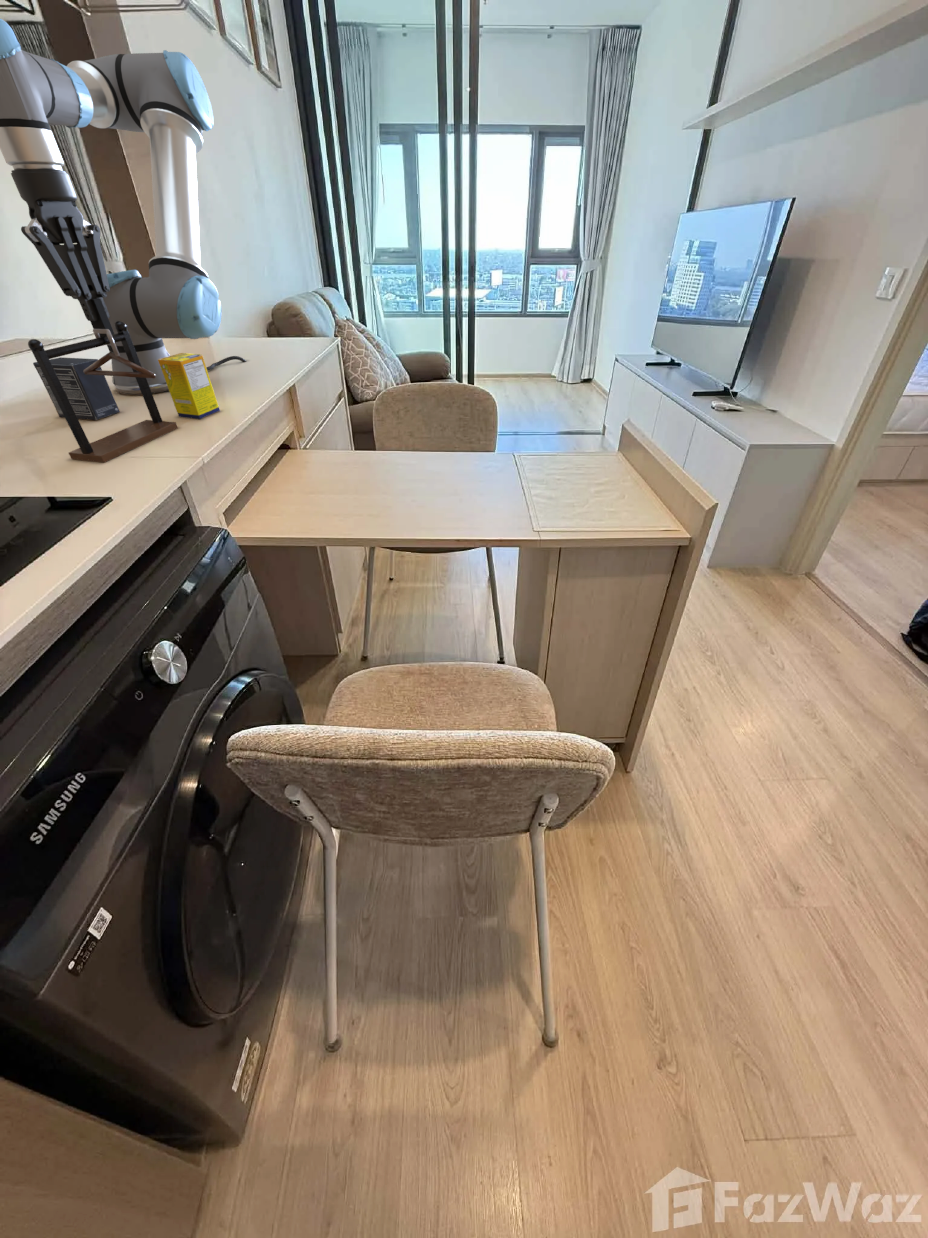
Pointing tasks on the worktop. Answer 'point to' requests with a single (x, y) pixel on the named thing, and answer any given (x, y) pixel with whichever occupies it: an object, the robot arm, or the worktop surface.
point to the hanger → (92, 368)
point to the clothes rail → (87, 451)
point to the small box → (81, 388)
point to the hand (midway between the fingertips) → (107, 340)
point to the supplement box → (189, 385)
